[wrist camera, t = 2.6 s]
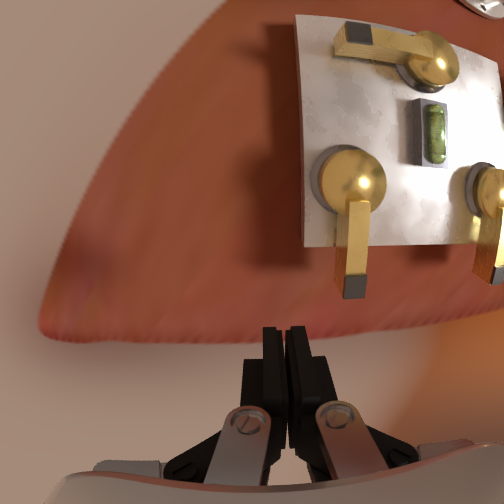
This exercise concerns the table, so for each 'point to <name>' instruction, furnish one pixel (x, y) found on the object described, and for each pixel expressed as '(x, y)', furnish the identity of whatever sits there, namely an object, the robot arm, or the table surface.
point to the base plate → (396, 137)
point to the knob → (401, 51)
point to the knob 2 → (490, 224)
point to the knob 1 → (352, 212)
